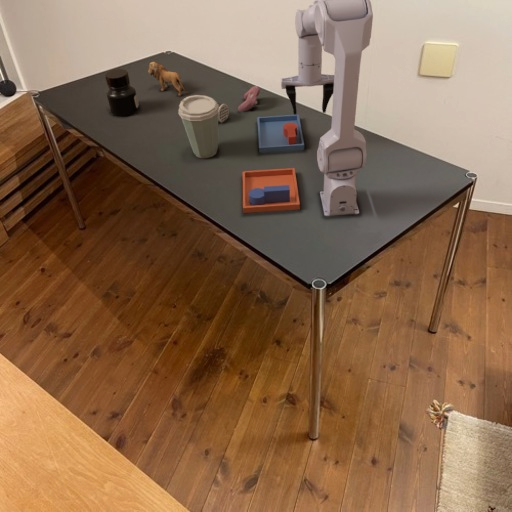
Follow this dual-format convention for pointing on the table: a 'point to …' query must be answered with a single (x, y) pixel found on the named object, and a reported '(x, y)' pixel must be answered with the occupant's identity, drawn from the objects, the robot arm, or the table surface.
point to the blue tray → (278, 134)
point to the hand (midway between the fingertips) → (309, 111)
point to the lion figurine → (165, 77)
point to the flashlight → (220, 111)
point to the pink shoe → (250, 99)
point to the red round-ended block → (290, 132)
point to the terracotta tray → (270, 179)
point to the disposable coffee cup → (201, 124)
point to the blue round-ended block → (269, 195)
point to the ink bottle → (121, 93)
